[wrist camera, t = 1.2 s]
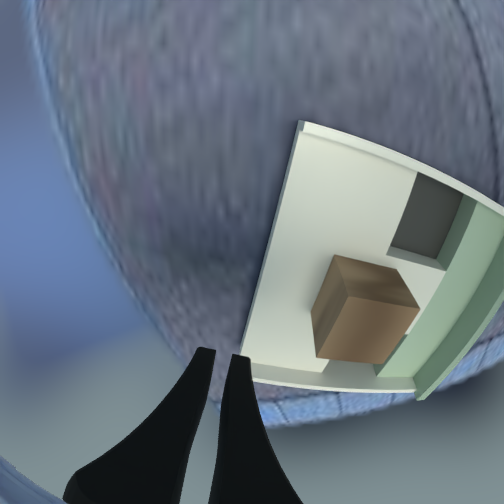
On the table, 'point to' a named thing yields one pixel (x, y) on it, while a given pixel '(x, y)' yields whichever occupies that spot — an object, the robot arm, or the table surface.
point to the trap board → (377, 252)
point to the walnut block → (361, 311)
